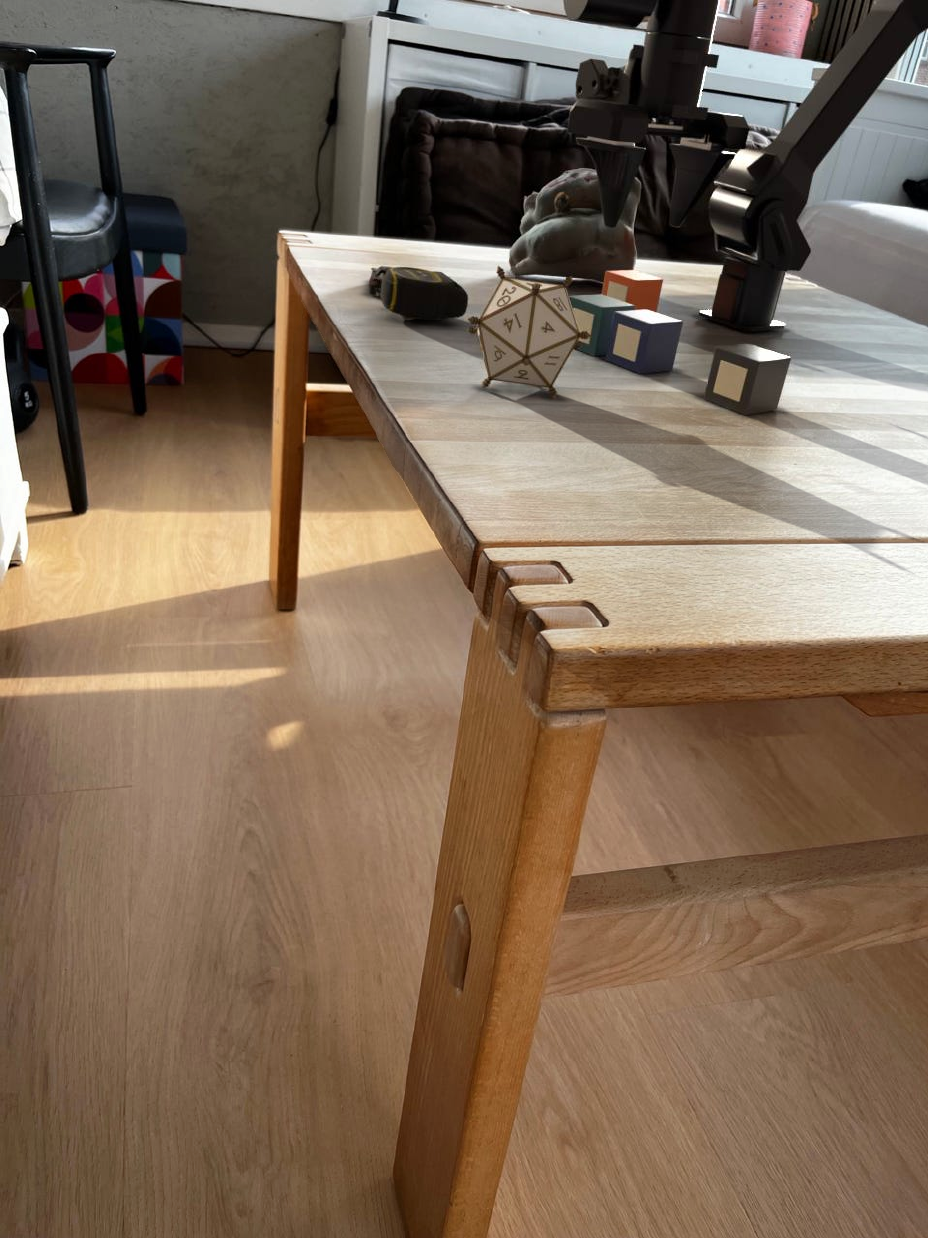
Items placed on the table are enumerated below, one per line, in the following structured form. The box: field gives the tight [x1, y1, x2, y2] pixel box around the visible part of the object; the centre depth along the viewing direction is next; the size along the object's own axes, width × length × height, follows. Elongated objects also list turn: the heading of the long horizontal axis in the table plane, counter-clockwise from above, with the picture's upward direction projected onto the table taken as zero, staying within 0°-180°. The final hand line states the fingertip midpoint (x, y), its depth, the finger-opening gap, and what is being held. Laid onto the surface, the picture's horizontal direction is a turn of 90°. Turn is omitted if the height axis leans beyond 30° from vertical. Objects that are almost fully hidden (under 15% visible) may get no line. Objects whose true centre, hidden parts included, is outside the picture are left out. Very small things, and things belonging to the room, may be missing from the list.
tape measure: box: [380, 266, 469, 321], centre depth 88 cm, size 7×7×4 cm
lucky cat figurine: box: [508, 167, 642, 284], centre depth 112 cm, size 15×12×14 cm
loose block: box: [601, 269, 664, 313], centre depth 99 cm, size 4×4×4 cm
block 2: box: [604, 309, 684, 375], centre depth 83 cm, size 4×4×4 cm
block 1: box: [568, 293, 635, 357], centre depth 87 cm, size 4×4×4 cm
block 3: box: [703, 343, 792, 416], centre depth 77 cm, size 4×4×4 cm
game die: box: [466, 265, 591, 399], centre depth 72 cm, size 9×8×10 cm
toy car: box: [368, 265, 395, 296], centre depth 97 cm, size 8×3×2 cm, turn 2°
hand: (643, 226), depth 96 cm, fingers open, 9 cm apart
